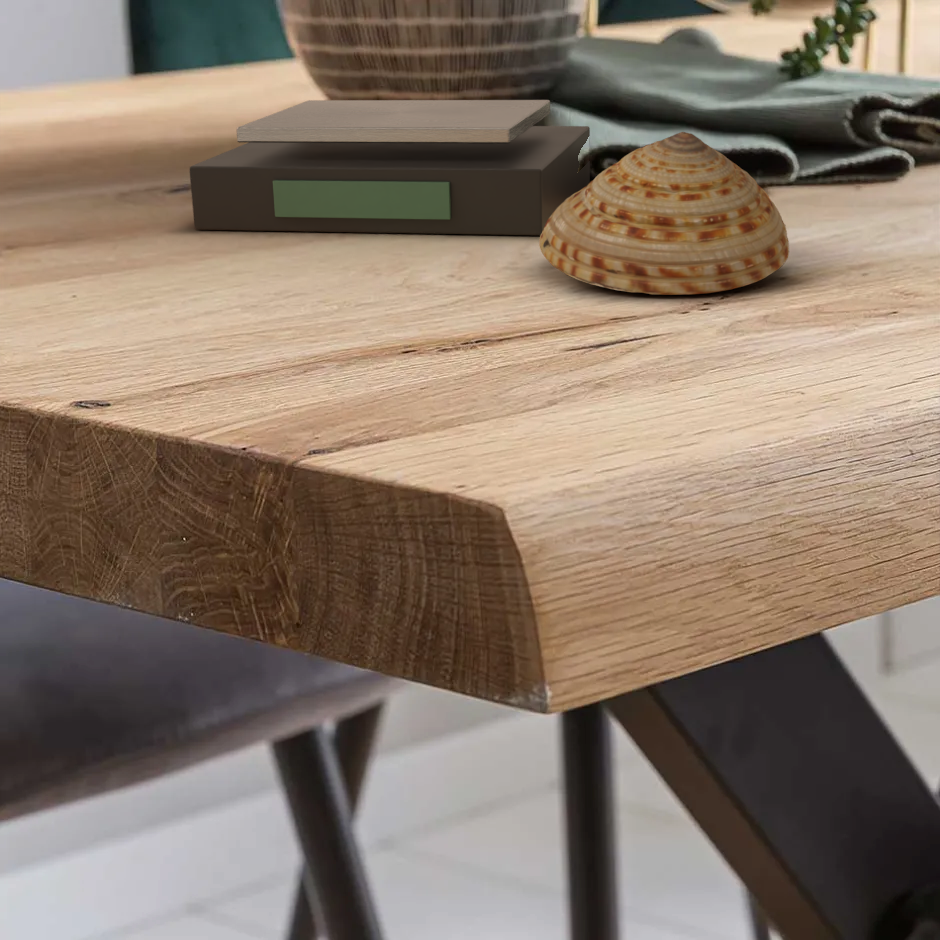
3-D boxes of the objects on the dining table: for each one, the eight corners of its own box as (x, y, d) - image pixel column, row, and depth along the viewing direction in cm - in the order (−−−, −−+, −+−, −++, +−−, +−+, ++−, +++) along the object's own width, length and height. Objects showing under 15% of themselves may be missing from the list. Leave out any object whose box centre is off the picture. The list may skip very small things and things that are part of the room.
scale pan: (236, 142, 62) (235, 127, 62) (308, 113, 70) (307, 100, 70) (509, 143, 60) (509, 127, 60) (550, 113, 68) (550, 99, 68)
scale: (191, 230, 62) (186, 167, 61) (292, 180, 73) (288, 125, 72) (541, 236, 59) (540, 170, 58) (590, 182, 70) (589, 125, 69)
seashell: (733, 172, 58) (808, 109, 50) (747, 324, 58) (825, 284, 50) (514, 183, 57) (555, 120, 49) (527, 338, 57) (571, 300, 49)
